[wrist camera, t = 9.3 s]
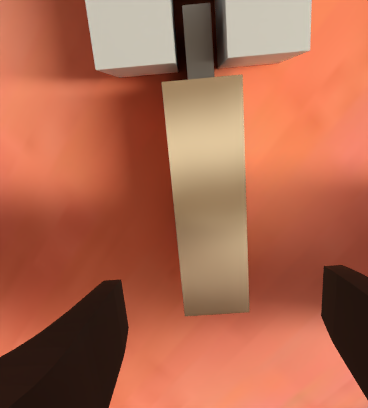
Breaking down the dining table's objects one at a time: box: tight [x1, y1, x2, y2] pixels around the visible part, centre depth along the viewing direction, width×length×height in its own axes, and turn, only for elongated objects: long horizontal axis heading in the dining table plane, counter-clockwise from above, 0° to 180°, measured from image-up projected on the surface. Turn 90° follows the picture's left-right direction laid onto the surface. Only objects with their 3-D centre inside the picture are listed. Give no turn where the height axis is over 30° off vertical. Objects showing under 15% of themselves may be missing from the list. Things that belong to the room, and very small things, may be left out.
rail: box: [162, 3, 249, 316], centre depth 18 cm, size 15×4×5 cm, turn 5°
